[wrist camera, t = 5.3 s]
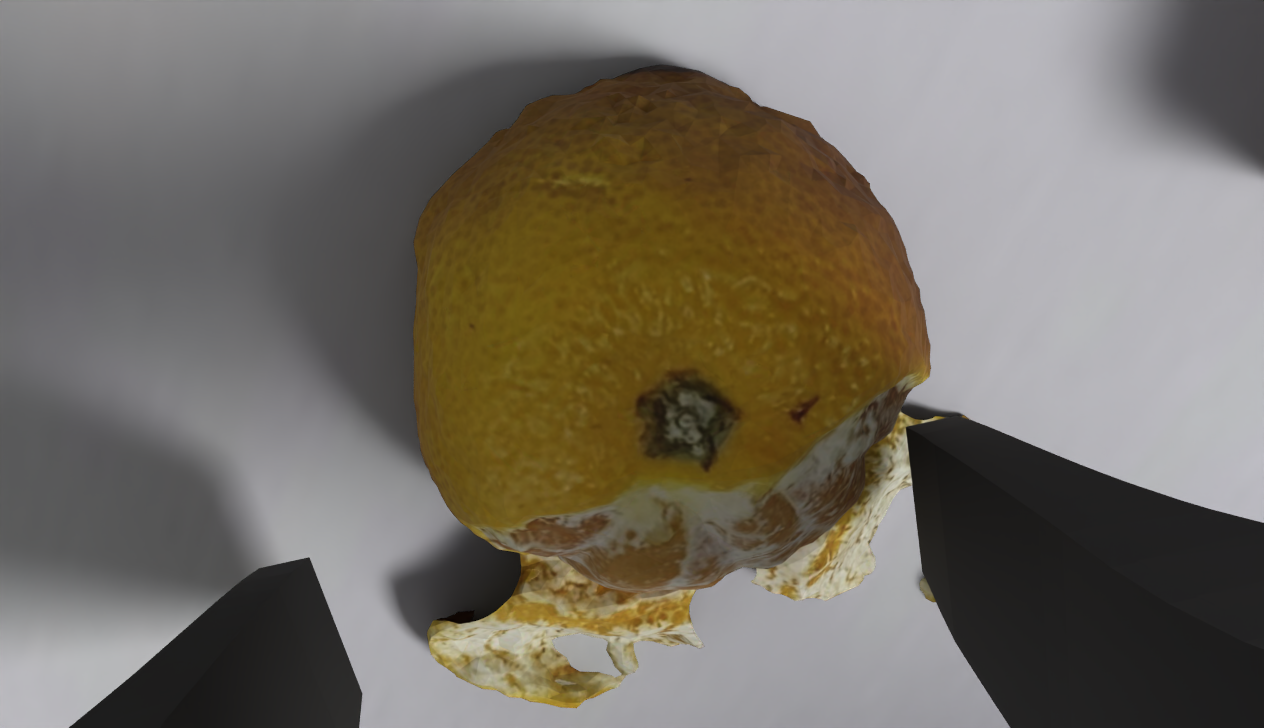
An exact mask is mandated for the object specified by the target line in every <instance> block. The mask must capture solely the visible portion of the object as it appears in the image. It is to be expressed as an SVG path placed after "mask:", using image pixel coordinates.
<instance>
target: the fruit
mask: <svg viewBox="0 0 1264 728" xmlns="http://www.w3.org/2000/svg"><path fill="white" fill-rule="evenodd" d="M414 250H415V256H416V261H417V266H418V274H417V288H416V309H415V318H414V327H413V340H414V404H415V410H416V416H417V430H418V438H419V440H420V449H421V453H422V456H423V459H424V462H425V464H426V466H427V468H428V469H429V472H430V475H431V478H432V480H433V481H434V482H435V484H436V485H437V487H438V489H439V491H440V493H441V496H442V498H443V499H444V501H445V503H446V505H447V507H448V508H449V509H450V511H451V512H452V513H453V515H454V516H455V517H456V518H457V519H458V520H459V521H460V522H461V523H462V524H464V525H465V526H466V527H468V528H469V529H470V530H471V531H472V532H473V533H474V534H475V535H477V536H479V537H481V538H483V539H485V540H486V541H487V542H489V543H490V544H491V545H493V546H494V547H495V548H496V549H500V550H505V551H512V552H518V553H520V560H521V576H520V578H519V581H518V583H517V586H516V588H515V590H514V592H513V594H512V597H511V598H510V599H508V600H507V601H506V602H505V603H504V604H503V605H502V606H501V607H500V608H499V609H498V610H497V611H495V612H494V613H492V614H491V615H489V616H487V617H485V618H483V619H481V620H478V621H474V622H471V620H472V618H473V615H474V611H475V610H473V611H465V612H457V613H456V614H454V615H452V616H449V617H447V618H440V619H437V620H434V621H432V623H431V625H430V627H429V629H428V631H427V637H428V644H429V648H430V652H431V655H432V656H433V657H434V658H435V660H436V661H437V662H438V663H440V664H441V665H443V666H444V667H446V668H447V669H449V670H450V671H451V672H453V673H454V674H455V675H456V677H458V678H461V679H463V680H465V681H467V682H469V683H471V684H473V685H475V686H478V687H480V688H482V689H491V690H497V691H499V692H501V693H502V694H504V695H506V696H508V697H517V698H523V699H525V700H528V701H530V702H539V703H546V704H550V705H554V706H558V707H566V708H577V707H578V706H579V705H580V704H581V703H582V702H583V701H585V700H587V699H589V698H594V697H596V696H598V695H600V694H602V693H604V692H606V691H608V690H610V689H615V688H617V687H619V686H620V684H621V682H622V680H623V679H624V678H625V676H626V675H628V674H631V673H634V672H635V671H636V670H637V668H638V662H637V659H636V656H635V653H634V646H633V643H636V642H638V641H654V642H657V643H660V644H664V645H667V646H670V647H671V646H675V645H679V644H690V645H692V646H695V647H698V648H702V647H704V645H703V643H702V642H701V640H700V639H699V638H698V636H697V635H696V633H695V632H694V629H693V626H692V622H691V618H690V615H689V605H690V602H691V599H692V597H693V595H694V593H695V591H696V590H697V589H702V588H708V587H712V586H714V585H715V584H716V583H718V582H719V581H720V580H721V579H722V578H723V577H724V576H725V575H727V574H729V573H731V572H733V571H735V570H738V569H740V568H742V567H747V568H756V571H757V576H756V577H755V579H754V580H752V581H751V582H752V583H753V584H757V585H760V586H762V587H763V588H765V589H766V590H768V591H770V592H772V593H774V594H782V595H785V596H787V597H789V598H791V599H793V600H795V601H799V600H804V599H805V598H818V599H822V600H824V601H827V600H829V599H831V598H833V597H835V596H837V595H839V594H841V593H843V592H845V591H848V590H850V589H852V588H855V587H857V586H858V585H859V584H860V583H861V582H862V581H863V579H864V576H865V575H869V574H871V573H872V572H873V570H874V569H875V557H874V555H873V553H872V551H871V548H870V546H869V543H870V542H871V540H872V538H873V536H874V534H875V532H876V530H877V527H878V525H879V523H880V522H881V520H882V519H883V518H884V516H885V514H886V511H887V509H888V507H889V506H890V504H891V501H892V499H893V498H894V496H895V495H896V494H897V493H898V491H899V490H901V489H903V488H906V487H909V486H911V485H912V478H911V469H910V460H909V452H908V443H907V435H906V427H907V426H912V425H916V424H921V423H925V422H930V421H934V420H939V419H944V418H945V417H938V416H935V417H933V418H932V419H928V420H916V419H913V418H911V417H909V416H907V415H905V414H903V413H902V412H901V408H902V406H903V404H904V401H905V399H906V397H907V395H908V393H909V392H910V391H911V390H912V389H913V387H915V386H917V385H919V384H921V383H923V382H924V381H925V380H926V379H927V378H928V377H929V376H930V369H931V366H930V342H929V338H928V334H927V328H926V320H925V312H924V309H923V306H922V304H921V300H920V289H919V287H918V286H917V284H916V282H915V280H914V276H913V271H912V269H911V267H910V264H909V261H908V258H907V254H906V249H905V246H904V244H903V241H902V239H901V236H900V233H899V231H898V229H897V227H896V224H895V222H894V220H893V218H892V217H891V216H890V214H889V213H888V212H887V210H886V209H885V208H884V207H883V206H882V205H881V204H880V203H879V201H878V200H877V199H876V197H875V196H874V194H873V193H872V191H871V189H870V183H868V182H867V180H866V179H865V177H864V176H863V175H861V174H860V173H858V172H856V170H855V169H854V168H853V167H852V165H851V164H850V163H849V162H848V161H847V160H846V158H845V157H844V156H843V155H842V154H841V153H840V152H839V151H838V150H837V149H836V148H835V147H834V146H832V145H831V144H829V143H828V142H826V141H825V140H824V139H823V138H821V137H820V135H819V134H818V132H817V131H816V129H815V128H814V126H813V125H812V123H811V122H810V121H807V120H804V119H801V118H798V117H795V116H792V115H789V114H786V113H783V112H780V111H777V110H774V109H771V108H768V107H760V106H759V105H758V104H756V103H755V102H752V100H751V99H750V97H749V96H748V95H747V94H745V93H744V92H743V91H742V90H740V89H739V88H736V87H732V86H729V85H728V84H726V83H724V82H721V81H719V80H717V79H715V78H713V77H711V76H709V75H707V74H705V73H703V72H701V71H697V70H692V69H687V68H682V67H677V66H668V65H656V66H650V67H645V68H640V69H637V70H635V71H632V72H629V73H626V74H623V75H621V76H618V77H616V78H614V79H600V80H599V81H598V82H596V83H595V84H594V85H591V86H588V87H585V88H584V89H582V90H581V91H580V92H578V93H576V94H571V95H552V96H549V97H546V98H543V99H540V100H537V101H535V102H533V103H530V104H528V105H527V106H526V107H525V108H524V109H523V111H522V113H521V114H520V116H519V117H518V119H517V120H516V121H515V123H514V124H513V125H512V126H511V128H509V129H503V130H500V131H498V132H496V133H495V134H494V135H493V137H492V138H491V139H490V140H489V141H488V142H487V143H486V144H485V145H484V146H483V147H482V148H481V149H480V150H479V151H478V152H477V153H476V154H475V155H474V156H473V157H472V158H471V159H469V160H468V161H467V162H466V163H465V164H464V165H463V166H462V167H460V168H459V169H458V170H457V171H456V172H455V173H454V174H453V175H452V176H451V177H450V178H449V179H448V180H447V181H446V182H445V183H444V184H443V186H442V187H441V188H440V189H439V190H438V191H437V192H436V193H435V194H434V195H433V196H432V197H431V199H430V200H429V202H428V204H427V206H426V208H425V209H424V211H423V213H422V215H421V216H420V218H419V222H418V226H417V230H416V234H415V238H414ZM962 417H963V418H966V419H968V418H967V417H966V416H964V415H963V416H962ZM919 585H920V590H921V591H922V592H923V593H924V595H925V597H926V599H928V600H930V601H932V602H936V601H935V598H934V596H933V594H932V592H931V590H930V587H929V585H928V583H927V581H926V579H925V577H924V578H923V579H922V580H921V581H920V584H919ZM578 633H581V634H584V635H588V636H592V637H595V638H603V639H604V640H606V641H608V645H607V649H606V650H607V652H608V654H609V656H610V657H611V659H612V661H613V663H614V666H615V667H616V668H617V669H618V670H619V671H620V672H621V673H622V674H621V676H618V677H616V678H614V677H613V676H612V675H607V674H602V673H600V672H580V671H578V670H576V669H574V668H573V667H571V666H570V664H569V662H568V660H567V658H566V657H565V656H563V655H562V654H560V653H559V652H558V651H557V650H556V649H555V648H554V646H553V643H552V641H551V640H553V639H554V638H556V637H561V636H566V635H572V634H578Z"/></svg>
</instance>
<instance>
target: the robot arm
mask: <svg viewBox="0 0 1264 728" xmlns="http://www.w3.org/2000/svg"><path fill="white" fill-rule="evenodd" d="M906 435H907V443H908V452H909V460H910V469H911V478H912V486H913V495H914V503H915V512H916V521H917V529H918V538H919V547H920V555H921V564H922V572H923V574H924V577H925V579H926V581H927V583H928V585H929V587H930V590H931V592H932V594H933V596H934V598H935V601H936V603H937V605H938V607H939V609H940V612H941V614H942V616H943V618H944V620H945V622H946V624H947V626H948V628H949V630H950V632H951V634H952V636H953V638H954V640H955V642H956V644H957V645H958V647H959V649H960V650H961V652H962V653H963V655H964V657H965V658H966V660H967V661H968V663H969V664H970V666H971V667H972V669H973V671H974V672H975V674H976V675H977V677H978V678H979V680H980V681H981V683H982V685H983V686H984V688H985V689H986V691H987V692H988V694H989V695H990V697H991V699H992V700H993V702H994V703H995V705H996V706H997V708H998V709H999V711H1000V712H1001V714H1002V715H1003V717H1004V718H1005V720H1006V721H1007V723H1008V725H1009V726H1010V728H1264V523H1262V522H1258V521H1254V520H1250V519H1246V518H1242V517H1238V516H1234V515H1230V514H1227V513H1223V512H1219V511H1215V510H1211V509H1208V508H1204V507H1201V506H1198V505H1194V504H1191V503H1188V502H1184V501H1181V500H1178V499H1175V498H1172V497H1169V496H1166V495H1163V494H1160V493H1157V492H1154V491H1151V490H1148V489H1145V488H1142V487H1139V486H1136V485H1133V484H1130V483H1127V482H1125V481H1122V480H1119V479H1117V478H1114V477H1111V476H1108V475H1106V474H1103V473H1100V472H1098V471H1095V470H1093V469H1090V468H1087V467H1085V466H1082V465H1080V464H1077V463H1075V462H1072V461H1070V460H1067V459H1065V458H1062V457H1060V456H1057V455H1055V454H1052V453H1050V452H1048V451H1045V450H1043V449H1040V448H1038V447H1036V446H1033V445H1031V444H1028V443H1026V442H1024V441H1021V440H1019V439H1016V438H1014V437H1012V436H1009V435H1007V434H1005V433H1002V432H1000V431H997V430H995V429H992V428H990V427H988V426H985V425H982V424H980V423H977V422H975V421H972V420H969V419H966V418H963V417H960V416H953V417H948V418H944V419H939V420H934V421H930V422H925V423H921V424H916V425H912V426H907V427H906ZM361 702H362V692H361V689H360V686H359V684H358V681H357V679H356V676H355V674H354V671H353V668H352V666H351V663H350V661H349V658H348V656H347V653H346V650H345V648H344V645H343V643H342V640H341V638H340V635H339V632H338V630H337V627H336V625H335V622H334V620H333V617H332V615H331V612H330V609H329V607H328V604H327V602H326V599H325V597H324V594H323V591H322V589H321V586H320V584H319V581H318V579H317V576H316V573H315V571H314V568H313V566H312V563H311V561H310V558H304V559H300V560H295V561H291V562H286V563H281V564H277V565H272V566H268V567H263V568H259V569H258V570H256V571H255V572H253V573H252V574H251V575H249V576H248V577H246V578H245V579H244V580H242V581H241V582H240V583H238V584H237V585H236V586H235V587H233V588H232V589H231V590H230V591H229V592H227V593H226V594H225V595H224V596H223V597H221V598H220V599H219V600H218V601H217V602H216V603H214V604H213V605H212V606H211V607H210V608H209V609H207V610H206V611H205V612H204V613H203V614H202V615H201V616H199V617H198V618H197V619H196V620H195V621H194V622H193V623H192V624H190V625H189V626H188V627H187V628H186V629H185V630H184V631H182V632H181V633H180V634H179V635H178V636H177V637H176V638H175V639H173V640H172V641H171V642H170V643H169V644H168V645H167V646H165V647H164V648H163V649H162V650H161V651H160V652H159V653H157V654H156V655H155V656H154V657H153V658H152V659H151V660H149V661H148V662H147V663H146V664H145V665H144V666H143V667H142V668H140V669H139V670H138V671H137V672H136V673H135V674H133V675H132V676H131V677H130V678H129V679H128V680H126V681H125V682H124V683H123V684H121V685H120V686H119V687H118V688H117V689H115V690H114V691H113V692H112V693H111V694H109V695H108V696H107V697H106V698H104V699H103V700H102V701H101V702H100V703H98V704H97V705H96V706H95V707H94V708H92V709H91V710H90V711H89V712H87V713H86V714H85V715H84V716H83V717H81V718H80V719H79V720H78V721H77V722H75V723H74V724H73V725H72V726H70V727H69V728H359V722H360V712H361Z"/></svg>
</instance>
